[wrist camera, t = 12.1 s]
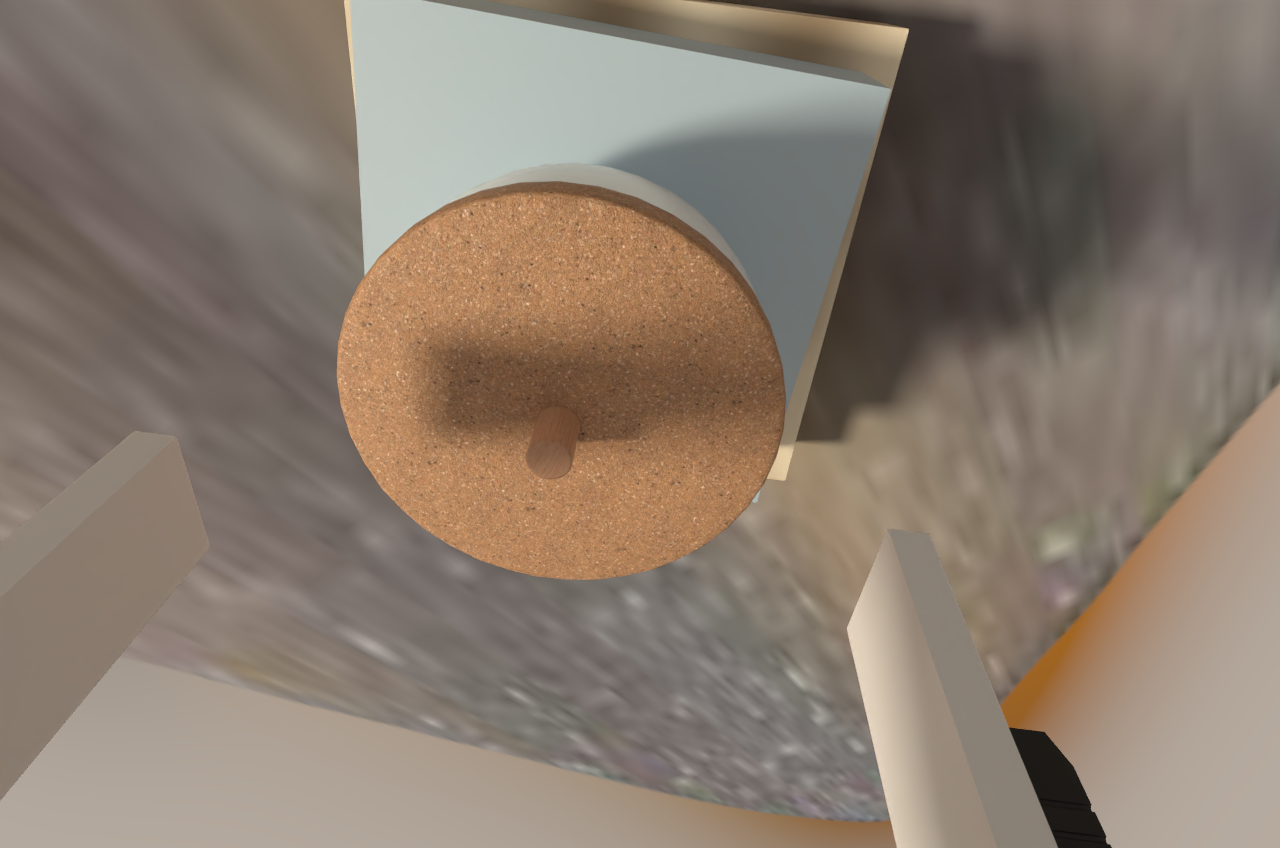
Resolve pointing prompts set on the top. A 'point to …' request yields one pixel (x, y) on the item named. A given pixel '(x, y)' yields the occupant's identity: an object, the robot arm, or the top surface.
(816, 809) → the top surface
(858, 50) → the tower base
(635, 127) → the tower top
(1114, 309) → the top surface
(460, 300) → the lidded jar
